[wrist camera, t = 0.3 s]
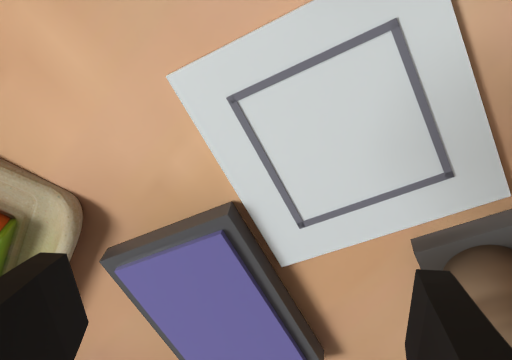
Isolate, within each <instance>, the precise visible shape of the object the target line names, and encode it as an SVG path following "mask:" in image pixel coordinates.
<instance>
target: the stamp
mask: <svg viewBox="0 0 512 360" xmlns="http://www.w3.org/2000/svg"><path fill="white" fill-rule="evenodd" d="M411 243H412V247H413V251H414V254H415V257H416V259H417V261H418V263H419V266H420V268H421V270H443V271H450V272H451V273H452V274H453V275H454V276H455V277H456V279H457V280H458V281H459V283H460V284H461V285H462V286H463V288H464V289H465V290H466V292H467V293H468V294H469V296H470V297H471V298H472V299H473V301H474V302H475V303H476V304H477V306H478V307H479V308H480V310H481V311H482V312H483V313H484V315H485V316H486V317H487V318H488V320H489V321H490V322H491V323H492V325H493V326H494V327H495V328H496V329H497V331H498V332H499V333H500V334H501V335H502V337H503V338H504V339H505V340H506V342H507V343H508V344H509V345H510V346H511V347H512V209H509V210H506V211H503V212H500V213H496V214H493V215H490V216H486V217H483V218H480V219H476V220H473V221H470V222H466V223H463V224H460V225H457V226H453V227H450V228H447V229H443V230H440V231H437V232H433V233H430V234H427V235H424V236H420V237H417V238H414V239H411Z"/></svg>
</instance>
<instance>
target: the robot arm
mask: <svg viewBox="0 0 512 360" xmlns="http://www.w3.org/2000/svg"><path fill="white" fill-rule="evenodd" d="M88 323H89V322H88V319H87V316H86V313H85V309H84V306H83V303H82V300H81V297H80V294H79V291H78V288H77V285H76V282H75V278H74V275H73V272H72V269H71V266H70V263H69V260H68V257H67V254H66V253H46V252H40V253H38V254H36V255H35V256H33V257H31V258H29V259H28V260H26V261H24V262H23V263H21V264H19V265H18V266H16V267H15V268H13V269H11V270H10V271H8V272H7V273H5V274H4V275H2V276H0V360H74V358H75V356H76V354H77V351H78V349H79V347H80V344H81V341H82V339H83V336H84V333H85V331H86V328H87V326H88ZM405 350H406V359H407V360H512V347H511V346H510V345H509V344H508V343H507V342H506V340H505V339H504V338H503V337H502V335H501V334H500V333H499V332H498V331H497V329H496V328H495V327H494V326H493V325H492V323H491V322H490V321H489V320H488V318H487V317H486V316H485V315H484V313H483V312H482V311H481V310H480V308H479V307H478V306H477V304H476V303H475V302H474V301H473V299H472V298H471V297H470V296H469V294H468V293H467V292H466V290H465V289H464V288H463V286H462V285H461V284H460V283H459V281H458V280H457V279H456V277H455V276H454V275H453V274H452V273H451V272H450V271H443V270H421V269H416V273H415V280H414V286H413V293H412V300H411V306H410V313H409V320H408V326H407V333H406V340H405Z"/></svg>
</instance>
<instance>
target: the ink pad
mask: <svg viewBox="0 0 512 360" xmlns="http://www.w3.org/2000/svg"><path fill="white" fill-rule="evenodd" d="M99 262H100V263H101V265H102V266H103V267H104V268H105V270H106V271H107V272H108V273H109V274H110V276H111V277H112V278H113V279H114V281H115V282H116V283H117V284H118V285H119V287H120V288H121V289H122V290H123V292H124V293H125V294H126V295H127V296H128V298H129V299H130V300H131V301H132V303H133V304H134V305H135V306H136V307H137V309H138V310H139V311H140V312H141V314H142V315H143V316H144V317H145V318H146V320H147V321H148V322H149V323H150V325H151V326H152V327H153V328H154V329H155V331H156V332H157V333H158V334H159V336H160V337H161V338H162V339H163V340H164V342H165V343H166V344H167V345H168V347H169V348H170V349H171V350H172V351H173V353H174V354H175V355H176V356H177V358H178V359H179V360H324V350H323V348H322V347H321V345H320V343H319V342H318V340H317V339H316V337H315V335H314V334H313V332H312V330H311V329H310V327H309V326H308V324H307V322H306V321H305V319H304V318H303V316H302V314H301V313H300V311H299V309H298V308H297V306H296V305H295V303H294V301H293V300H292V298H291V297H290V295H289V293H288V292H287V290H286V288H285V287H284V285H283V284H282V282H281V280H280V279H279V277H278V276H277V274H276V272H275V271H274V269H273V267H272V266H271V264H270V263H269V261H268V259H267V258H266V256H265V254H264V253H263V251H262V250H261V248H260V246H259V245H258V243H257V242H256V240H255V238H254V237H253V235H252V233H251V232H250V230H249V229H248V227H247V225H246V224H245V222H244V221H243V219H242V217H241V216H240V214H239V212H238V211H237V209H236V208H235V206H234V204H233V203H232V201H231V202H229V203H226V204H223V205H221V206H218V207H216V208H213V209H210V210H208V211H205V212H202V213H200V214H197V215H195V216H192V217H189V218H187V219H184V220H181V221H179V222H176V223H173V224H171V225H168V226H166V227H163V228H160V229H158V230H155V231H152V232H150V233H147V234H144V235H142V236H139V237H137V238H134V239H131V240H129V241H126V242H123V243H121V244H118V245H115V246H113V247H110V248H108V249H107V250H106V252H105V254H104V255H103V257H102V258H101V260H100V261H99Z"/></svg>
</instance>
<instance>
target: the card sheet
mask: <svg viewBox="0 0 512 360" xmlns="http://www.w3.org/2000/svg"><path fill="white" fill-rule="evenodd" d="M166 78H167V79H168V81H169V83H170V84H171V86H172V88H173V89H174V91H175V92H176V94H177V96H178V97H179V99H180V101H181V102H182V104H183V106H184V107H185V109H186V111H187V112H188V114H189V116H190V117H191V119H192V120H193V122H194V124H195V125H196V127H197V129H198V130H199V132H200V134H201V135H202V137H203V139H204V140H205V142H206V144H207V145H208V147H209V148H210V150H211V152H212V153H213V155H214V157H215V158H216V160H217V162H218V163H219V165H220V167H221V168H222V170H223V171H224V173H225V175H226V176H227V178H228V180H229V181H230V183H231V185H232V186H233V188H234V190H235V191H236V193H237V195H238V196H239V198H240V199H241V201H242V203H243V204H244V206H245V208H246V209H247V211H248V213H249V214H250V216H251V218H252V219H253V221H254V223H255V224H256V226H257V227H258V229H259V231H260V232H261V234H262V236H263V237H264V239H265V241H266V242H267V244H268V246H269V247H270V249H271V251H272V252H273V254H274V255H275V257H276V259H277V260H278V262H279V264H280V265H281V267H284V266H288V265H291V264H294V263H297V262H301V261H304V260H307V259H310V258H313V257H317V256H320V255H323V254H326V253H329V252H333V251H336V250H339V249H342V248H345V247H349V246H352V245H355V244H358V243H362V242H365V241H368V240H371V239H374V238H378V237H381V236H384V235H387V234H390V233H394V232H397V231H400V230H403V229H407V228H410V227H413V226H416V225H419V224H423V223H426V222H429V221H432V220H435V219H439V218H442V217H445V216H448V215H451V214H455V213H458V212H461V211H464V210H468V209H471V208H474V207H477V206H480V205H484V204H487V203H490V202H493V201H496V200H500V199H503V198H506V197H509V196H511V194H510V190H509V187H508V184H507V181H506V177H505V174H504V171H503V168H502V165H501V161H500V158H499V155H498V152H497V148H496V145H495V142H494V139H493V135H492V132H491V129H490V126H489V123H488V119H487V116H486V113H485V110H484V106H483V103H482V100H481V97H480V93H479V90H478V87H477V84H476V81H475V77H474V74H473V71H472V68H471V64H470V61H469V58H468V55H467V52H466V48H465V45H464V42H463V39H462V35H461V32H460V29H459V26H458V22H457V19H456V16H455V13H454V10H453V6H452V3H451V0H312V1H310V2H308V3H306V4H304V5H302V6H300V7H298V8H297V9H295V10H293V11H291V12H289V13H287V14H285V15H283V16H281V17H279V18H277V19H275V20H273V21H271V22H269V23H267V24H265V25H263V26H261V27H260V28H258V29H256V30H254V31H252V32H250V33H248V34H246V35H244V36H242V37H240V38H238V39H236V40H234V41H232V42H230V43H228V44H226V45H224V46H223V47H221V48H219V49H217V50H215V51H213V52H211V53H209V54H207V55H205V56H203V57H201V58H199V59H197V60H195V61H193V62H191V63H189V64H187V65H186V66H184V67H182V68H180V69H178V70H176V71H174V72H172V73H170V74H168V75H167V76H166Z"/></svg>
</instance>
